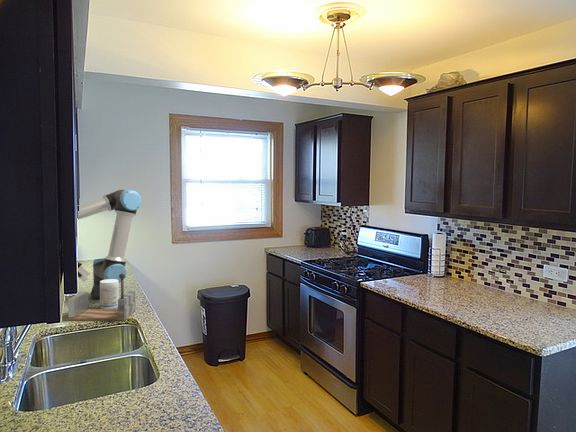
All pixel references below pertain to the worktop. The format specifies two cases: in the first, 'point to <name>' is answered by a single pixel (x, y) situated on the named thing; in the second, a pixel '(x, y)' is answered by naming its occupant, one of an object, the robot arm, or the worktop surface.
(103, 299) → the supplement tub
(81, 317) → the vise bed
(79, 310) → the front jaw
